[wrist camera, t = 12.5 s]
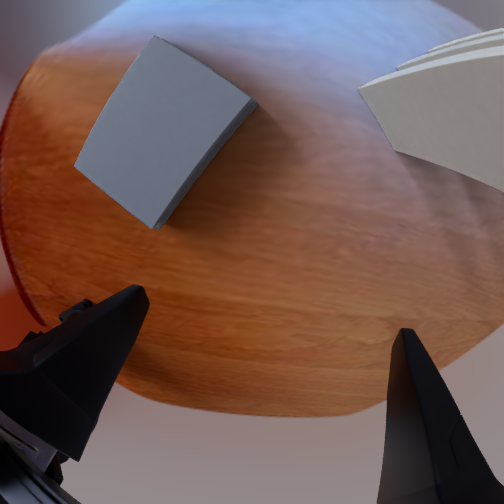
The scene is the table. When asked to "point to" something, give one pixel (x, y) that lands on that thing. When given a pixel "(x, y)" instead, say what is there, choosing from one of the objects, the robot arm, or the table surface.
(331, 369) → the table surface
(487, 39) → the cream books
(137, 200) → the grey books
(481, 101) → the slim cream book
